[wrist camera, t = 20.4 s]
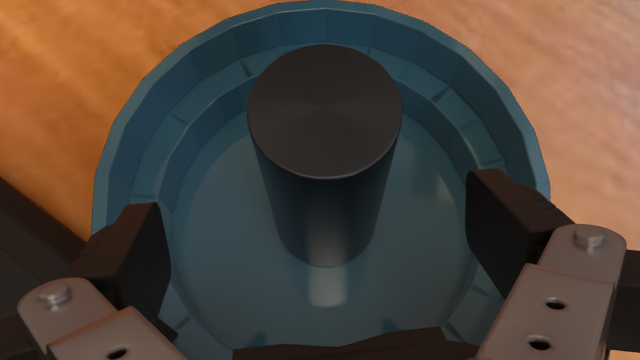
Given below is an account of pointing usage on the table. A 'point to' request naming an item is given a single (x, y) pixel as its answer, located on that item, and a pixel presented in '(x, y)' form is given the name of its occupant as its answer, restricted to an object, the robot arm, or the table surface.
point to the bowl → (253, 203)
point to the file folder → (35, 251)
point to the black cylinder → (325, 148)
